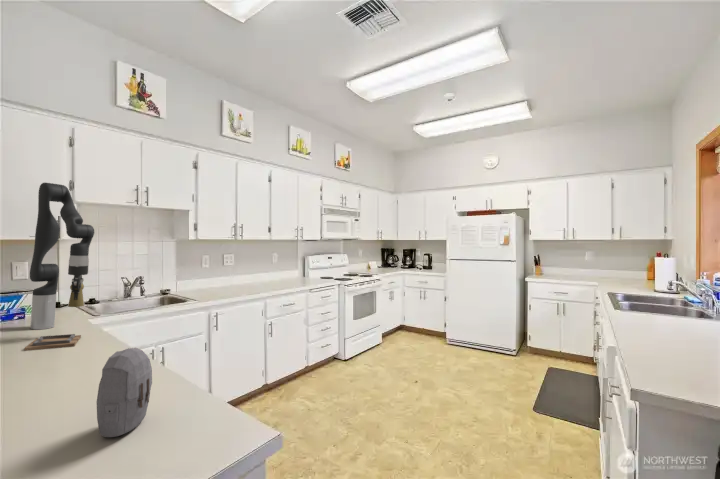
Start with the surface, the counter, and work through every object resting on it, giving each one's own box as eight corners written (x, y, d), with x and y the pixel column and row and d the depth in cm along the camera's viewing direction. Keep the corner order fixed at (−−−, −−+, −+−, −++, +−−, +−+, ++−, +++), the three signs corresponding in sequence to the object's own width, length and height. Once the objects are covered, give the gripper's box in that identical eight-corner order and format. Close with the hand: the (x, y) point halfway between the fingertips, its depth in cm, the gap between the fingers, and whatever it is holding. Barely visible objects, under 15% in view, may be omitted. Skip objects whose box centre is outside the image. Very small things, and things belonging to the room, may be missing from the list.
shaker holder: (35, 341, 156) (36, 335, 156) (80, 337, 164) (81, 332, 164) (24, 350, 142) (25, 344, 143) (74, 346, 151) (74, 340, 151)
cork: (79, 307, 165) (80, 284, 165) (64, 306, 164) (66, 283, 164) (86, 304, 171) (88, 282, 171) (73, 304, 170) (74, 282, 170)
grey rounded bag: (127, 414, 94) (131, 340, 94) (159, 414, 94) (163, 340, 95) (88, 445, 79) (93, 357, 79) (126, 445, 79) (131, 358, 80)
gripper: (71, 264, 172) (69, 298, 172) (65, 265, 160) (63, 303, 160) (90, 264, 176) (88, 298, 176) (86, 265, 164) (83, 302, 164)
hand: (76, 300), depth 168 cm, fingers closed on cork, 2 cm apart
